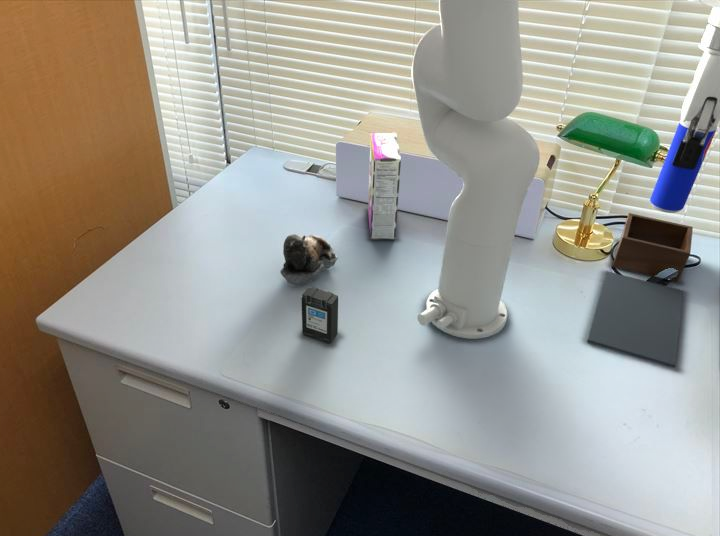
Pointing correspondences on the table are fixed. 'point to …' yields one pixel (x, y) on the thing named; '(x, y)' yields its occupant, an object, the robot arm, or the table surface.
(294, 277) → the bison figurine
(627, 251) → the brown wooden box
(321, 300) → the ink cartridge
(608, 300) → the desk mat
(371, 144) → the candy bar box
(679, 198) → the beverage can
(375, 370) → the table surface
